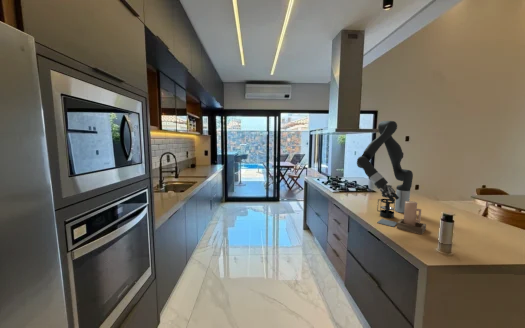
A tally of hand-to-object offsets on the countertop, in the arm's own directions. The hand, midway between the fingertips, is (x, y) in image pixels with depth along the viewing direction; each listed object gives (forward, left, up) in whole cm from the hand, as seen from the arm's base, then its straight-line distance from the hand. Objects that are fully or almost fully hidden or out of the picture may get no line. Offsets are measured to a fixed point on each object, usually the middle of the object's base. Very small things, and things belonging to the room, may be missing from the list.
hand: (396, 200), depth 147 cm
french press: (-15, -9, -17) cm, 25 cm away
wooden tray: (0, +10, -17) cm, 19 cm away
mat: (0, -4, -17) cm, 17 cm away
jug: (0, +10, -17) cm, 19 cm away
